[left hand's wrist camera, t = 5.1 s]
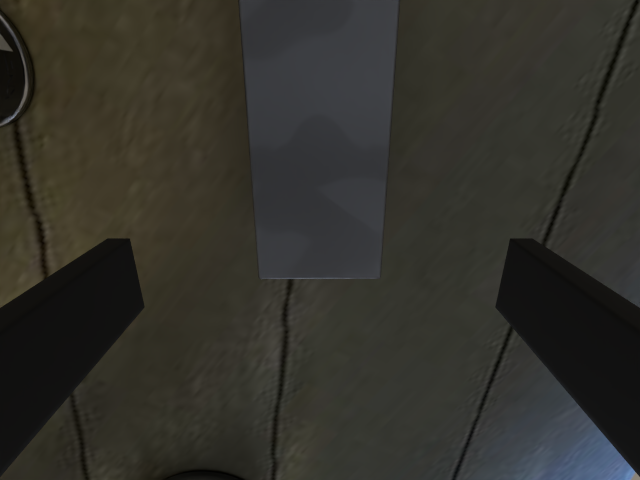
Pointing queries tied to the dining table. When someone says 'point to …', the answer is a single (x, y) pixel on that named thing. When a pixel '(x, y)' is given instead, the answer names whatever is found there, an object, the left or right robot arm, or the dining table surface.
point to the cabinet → (319, 132)
